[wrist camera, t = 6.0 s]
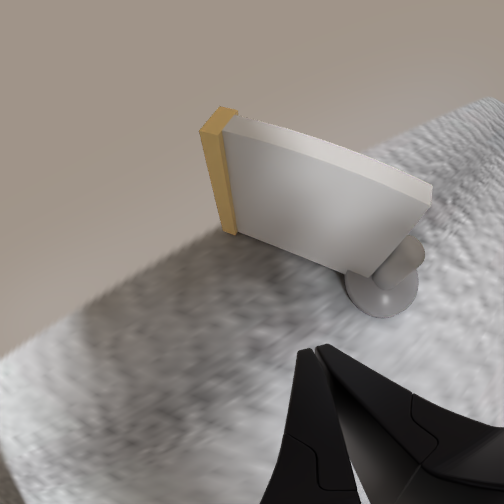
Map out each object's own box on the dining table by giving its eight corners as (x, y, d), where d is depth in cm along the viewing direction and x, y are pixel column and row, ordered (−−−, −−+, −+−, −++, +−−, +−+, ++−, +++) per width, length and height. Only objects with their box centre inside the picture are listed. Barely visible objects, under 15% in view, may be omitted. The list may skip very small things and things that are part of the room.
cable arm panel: (418, 261, 16) (491, 188, 9) (403, 328, 14) (494, 282, 7) (245, 192, 18) (235, 88, 11) (211, 251, 17) (178, 156, 10)
